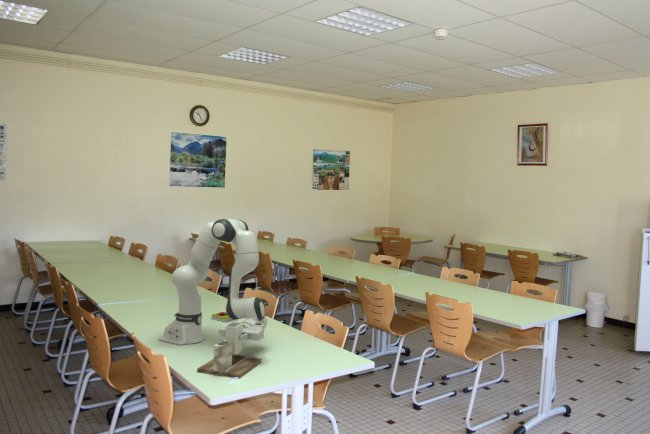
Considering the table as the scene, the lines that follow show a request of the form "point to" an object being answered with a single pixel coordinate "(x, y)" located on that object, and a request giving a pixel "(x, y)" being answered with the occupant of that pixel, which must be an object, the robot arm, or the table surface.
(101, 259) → the table surface
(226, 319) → the emergency button
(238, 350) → the grey module block
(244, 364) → the rail board
